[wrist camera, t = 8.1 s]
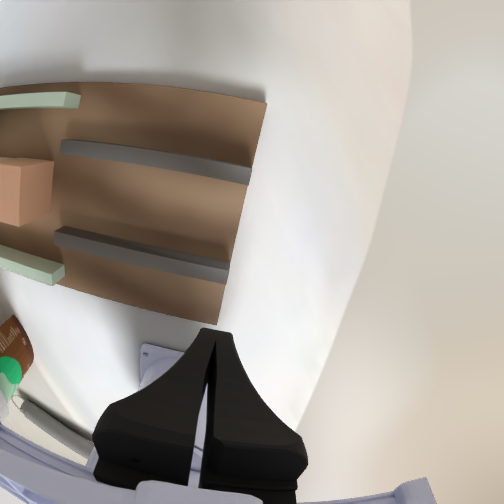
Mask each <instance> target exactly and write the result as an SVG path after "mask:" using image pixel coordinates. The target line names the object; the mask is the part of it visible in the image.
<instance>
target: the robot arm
mask: <svg viewBox="0 0 504 504" xmlns="http://www.w3.org/2000/svg"><path fill="white" fill-rule="evenodd" d="M145 352H146V353H148V354H146V353H145ZM140 381H141V385H140V387H139V390H138V392H136V393H134V394H132V395H130V396H128V397H126V398H124V399H121V400H119V401H117V402H114V403H112V404H110V405H109V406H108V407H107V409H106V410H105V411H104V413H103V414H102V416H101V417H100V419H99V421H98V423H97V425H96V427H95V430H94V432H93V434H92V440H93V443H94V446H95V447H94V448H93V450H92V452H91V454H90V456H89V458H88V461H87V464H86V466H83V465H81V464H78V463H76V462H74V461H71V460H69V459H67V458H64V457H62V456H60V455H58V454H55V453H53V452H51V451H49V450H47V449H45V448H43V447H41V446H39V445H37V444H35V443H33V442H31V441H30V440H28V439H26V438H24V437H22V436H20V435H19V434H17V433H15V432H14V431H12V430H10V429H9V428H7V427H5V426H4V425H2V424H1V421H0V486H1V487H2V488H4V489H5V490H7V491H8V492H10V493H11V494H13V495H14V496H16V497H17V498H19V499H20V500H22V501H24V502H25V503H27V504H437V503H436V500H435V498H434V495H433V493H432V490H431V488H430V485H429V483H428V480H427V478H426V477H423V478H419V479H415V480H411V481H407V482H405V483H403V484H401V485H399V486H398V487H397V488H396V489H395V490H394V491H391V492H387V493H382V494H376V495H371V496H364V497H358V498H350V499H343V500H333V501H321V502H304V503H296V494H295V490H297V487H298V486H297V479H298V478H299V476H300V475H301V474H302V473H303V472H304V470H305V469H306V467H307V466H308V458H307V457H308V456H307V452H306V449H305V446H304V443H303V440H302V438H301V436H300V435H298V434H297V433H296V432H294V431H293V430H292V429H291V428H289V427H288V426H287V425H286V424H285V423H283V422H282V421H281V420H280V419H279V418H278V417H277V416H276V415H275V414H274V412H273V411H272V410H271V409H270V408H269V407H268V406H267V405H266V403H265V402H264V401H263V399H262V398H261V397H260V395H259V394H258V392H257V391H256V389H255V388H254V386H253V385H252V383H251V381H250V380H249V378H248V376H247V374H246V372H245V370H244V368H243V366H242V363H241V361H240V358H239V356H238V353H237V350H236V347H235V344H234V340H233V335H232V334H231V333H229V332H224V331H219V330H213V329H208V328H202V329H200V332H199V333H198V335H197V337H196V339H195V340H194V341H193V343H192V344H191V346H190V347H189V348H188V349H187V351H186V352H185V353H184V352H180V351H175V350H171V349H167V348H163V347H158V346H154V345H150V344H146V343H145V344H143V345H142V346H141V363H140Z"/></svg>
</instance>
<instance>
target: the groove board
mask: <svg viewBox="0 0 504 504" xmlns="http://www.w3.org/2000/svg"><path fill="white" fill-rule="evenodd" d="M43 92H70V93H74V94H78V95H81V98H80V102H79V107H78V109H75V108H25V109H5V110H0V157H8V158H19V157H21V158H31V159H40V160H49V161H54V169H53V180H52V193H51V213H49V214H47V215H45V216H42V217H40V218H38V219H35V220H33V221H31V222H29V223H27V224H25V225H22V226H20V227H18V226H14V225H10V224H7V223H3V222H0V245H3V246H6V247H9V248H12V249H15V250H18V251H22V252H25V253H28V254H31V255H34V256H37V257H41V258H44V259H47V260H51V261H54V262H57V263H61V264H64V267H65V276H64V277H63V278H62V279H60V280H59V281H58V282H57V283H56V284H59V285H62V286H65V287H68V288H72V289H75V290H78V291H81V292H85V293H88V294H91V295H95V296H98V297H102V298H105V299H109V300H112V301H116V302H120V303H123V304H127V305H131V306H135V307H139V308H143V309H147V310H151V311H155V312H159V313H163V314H167V315H171V316H176V317H180V318H185V319H189V320H194V321H198V322H203V323H208V324H213V325H217V322H218V317H219V312H220V307H221V303H222V298H223V293H224V289H225V285H226V283H227V278H228V274H229V268H230V261H231V257H232V252H233V248H234V243H235V239H236V234H237V230H238V225H239V221H240V216H241V212H242V208H243V203H244V199H245V195H246V190H247V186H248V185H249V181H250V177H251V172H252V165H253V161H254V156H255V152H256V148H257V144H258V140H259V136H260V131H261V127H262V123H263V119H264V115H265V111H266V107H267V104H266V103H262V102H258V101H253V100H248V99H244V98H239V97H234V96H228V95H223V94H217V93H211V92H205V91H198V90H191V89H184V88H176V87H167V86H158V85H146V84H132V83H112V82H63V83H44V84H31V85H21V86H12V87H4V88H0V96H4V95H14V94H26V93H43Z"/></svg>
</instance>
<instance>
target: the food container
mask: <svg viewBox="0 0 504 504" xmlns="http://www.w3.org/2000/svg"><path fill="white" fill-rule="evenodd" d="M33 359H34V353H33V348H32V345H31V343H30V340H29V338H28V336H27V334H26V332H25V330H24V329H23V327H22V325H21V324H20V323H19V321H18V320H17V319H16V317H15V316H14V315H12V316H11V317H10V318H9V319H8V320H7V321H6V322H4V323H3V324H2V325H1V326H0V421H2V420H3V419H4V418H6V417H7V416H8V414H9V408H8V402H9V400H10V398H11V397H12V395H13V393H14V392H15V390H16V388H17V387H18V385H19V383H20V382H21V380H22V378H23V377H24V375H25V374H26V372H27V371H28V369H29V367H30V366H31V364H32V362H33Z"/></svg>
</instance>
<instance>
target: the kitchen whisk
mask: <svg viewBox="0 0 504 504" xmlns="http://www.w3.org/2000/svg"><path fill="white" fill-rule="evenodd" d="M13 396H18V395H13ZM13 396H12V397H13ZM12 397H11V398H12ZM18 397H20V396H18ZM20 398H22V397H20ZM22 399H23V398H22ZM12 401H13V399H12ZM13 403H14V401H13ZM14 404H15V403H14ZM15 405H16V404H15ZM16 406H17V405H16ZM17 408H18V406H17ZM18 409H19V408H18ZM19 410H20V411H21V412H22V413H23V414H24V415H25V417H26V418H28V419H29V420H30V421H32V422H33V423H34V424H36V425H37V426H38V427H40V428H41V429H42V430H44V431H45V432H46V433H48V434H49V435H51V436H52V437H53V438H55V439H56V440H58V441H59V442H61V443H62V444H64V445H65V446H67V447H68V448H70V449H72V450H73V451H75V452H76V453H78V454H80V455H81V456H83V457H85V458H86V459H88V458H89V456H90V454H91V452H92V450H93V448H94V447H95V446H94V444H93V443H91V442H90V441H88V440H86V439H85V438H83V437H81V436H80V435H78V434H77V433H75V432H74V431H72V430H71V429H69V428H68V427H66V426H65V425H63V424H62V423H60V422H59V421H57V420H56V419H54V418H53V417H52V416H50V415H49V414H48V413H46V412H45V411H43V410H42V409H41V408H39V407H38V406H37V405H36V404H34V403H33V402H32V403H31V402H30V401H29V400H28V399H26V400H25V401H24V402H23V404H22V405H21V408H20V409H19Z"/></svg>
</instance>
